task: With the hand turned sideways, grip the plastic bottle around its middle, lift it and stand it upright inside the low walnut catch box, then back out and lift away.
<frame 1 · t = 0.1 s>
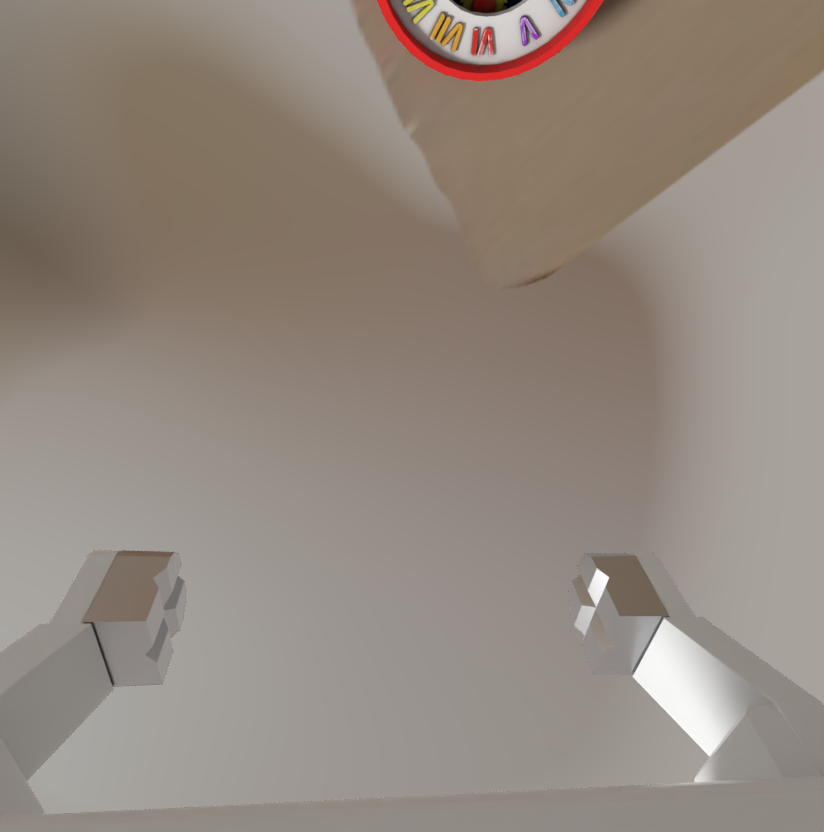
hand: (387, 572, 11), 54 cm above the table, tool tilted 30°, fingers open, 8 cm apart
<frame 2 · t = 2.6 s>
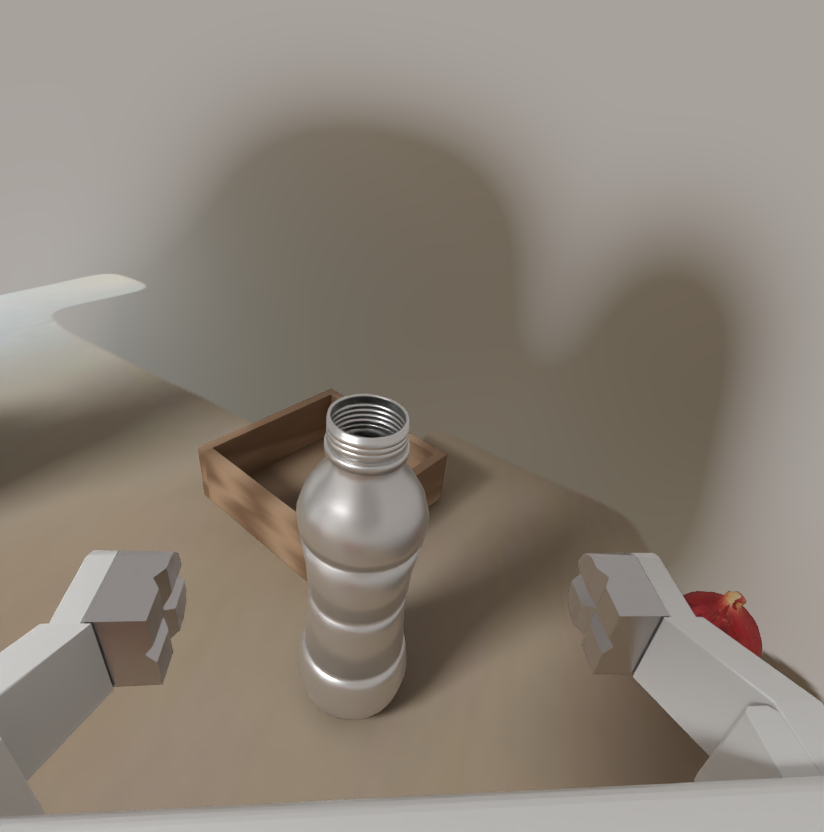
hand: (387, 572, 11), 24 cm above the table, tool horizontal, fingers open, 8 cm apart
red pomegranate: (685, 675, 37), on the table
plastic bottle: (351, 683, 34), on the table
catch box: (325, 496, 48), on the table
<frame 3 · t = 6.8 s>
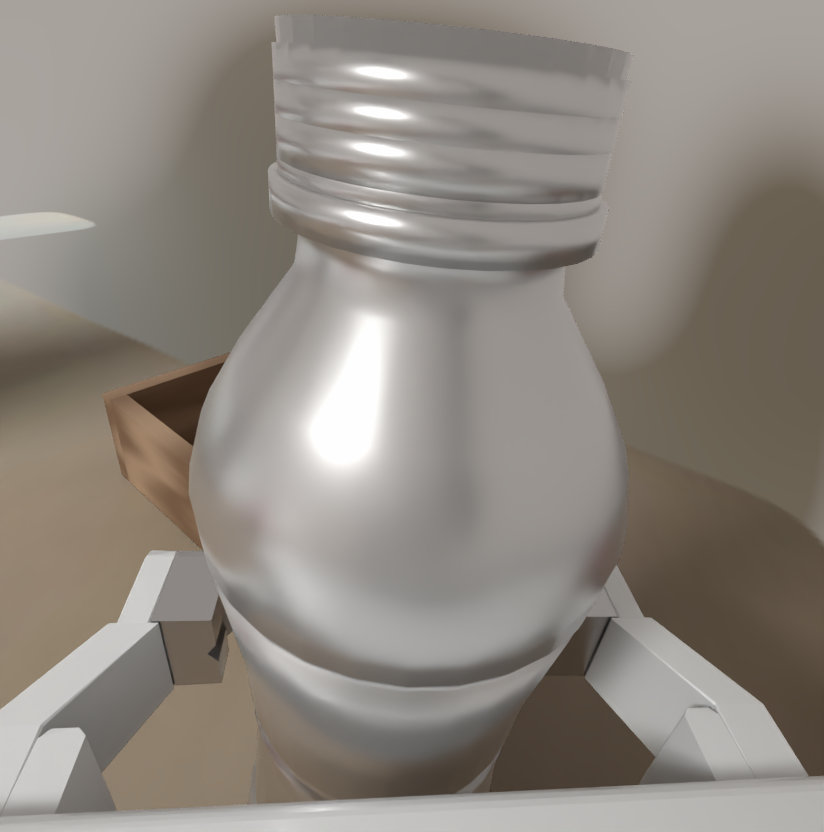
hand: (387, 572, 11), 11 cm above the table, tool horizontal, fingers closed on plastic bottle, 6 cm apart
catch box: (316, 477, 30), on the table
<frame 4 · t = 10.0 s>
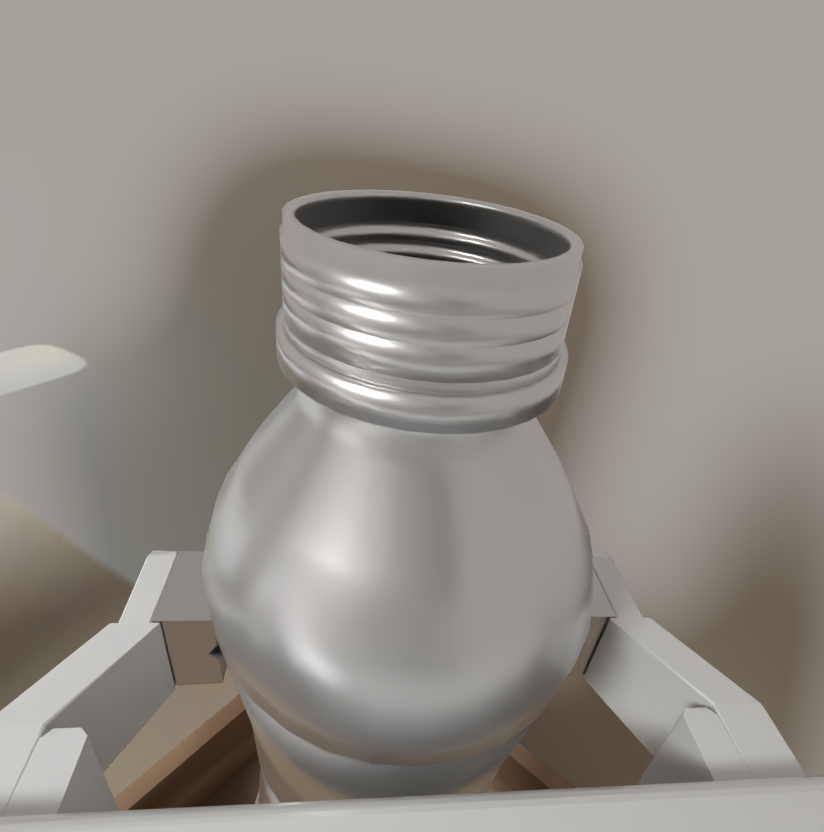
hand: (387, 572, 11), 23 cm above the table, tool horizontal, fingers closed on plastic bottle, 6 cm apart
when the fingers open (13 cm above the table, at t = 13.0 s): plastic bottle stays where it is, resting on catch box.
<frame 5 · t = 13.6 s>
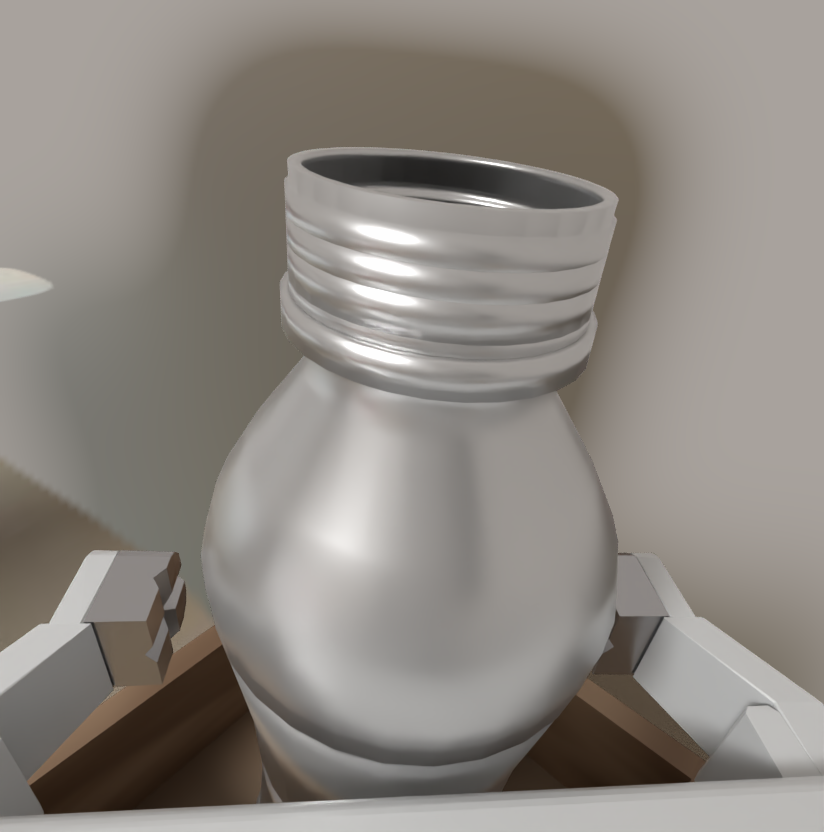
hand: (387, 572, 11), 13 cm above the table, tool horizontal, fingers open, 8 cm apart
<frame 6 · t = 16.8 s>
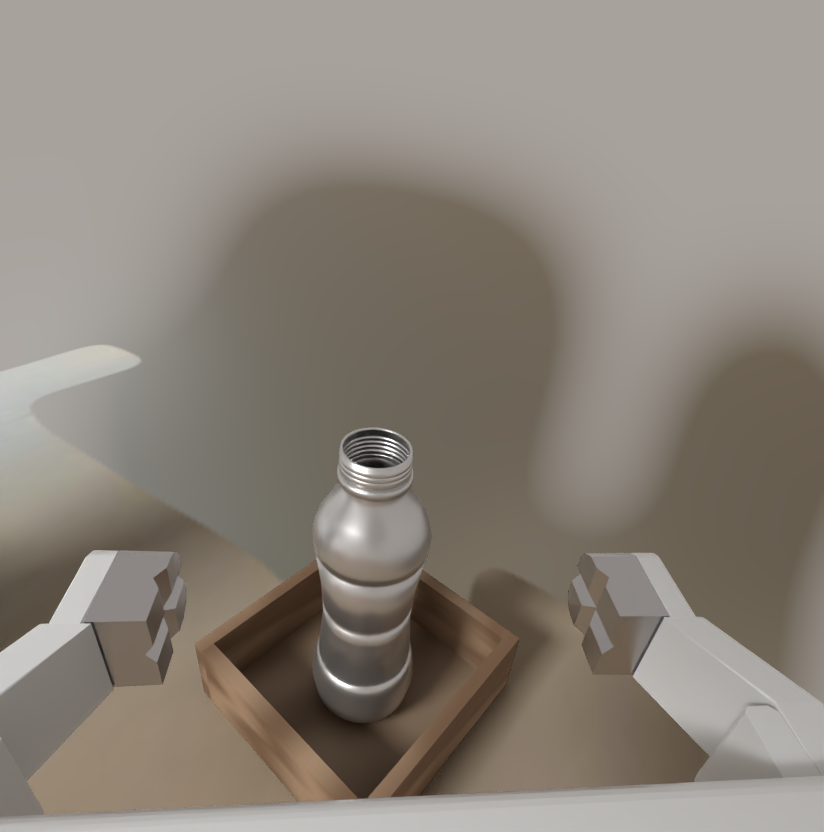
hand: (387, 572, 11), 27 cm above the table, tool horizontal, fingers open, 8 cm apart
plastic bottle: (361, 689, 37), resting on catch box
catch box: (359, 687, 37), on the table
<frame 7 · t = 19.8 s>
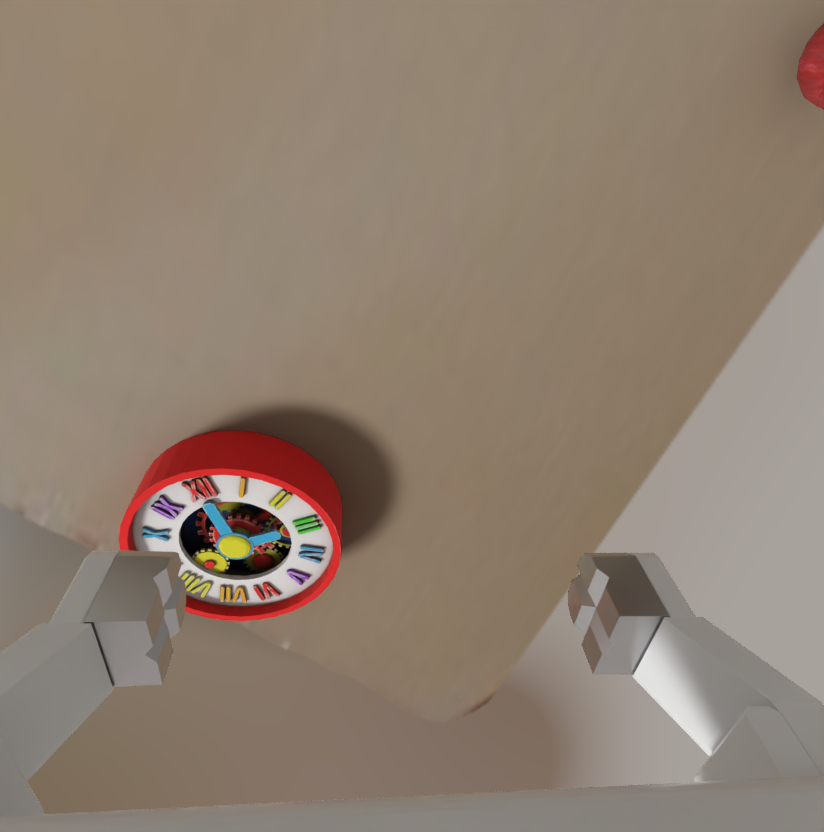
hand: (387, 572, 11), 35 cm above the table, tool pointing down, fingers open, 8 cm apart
red pomegranate: (811, 58, 38), on the table
toy clock: (244, 508, 56), on the table
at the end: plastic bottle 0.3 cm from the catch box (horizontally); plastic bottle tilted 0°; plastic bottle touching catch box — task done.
